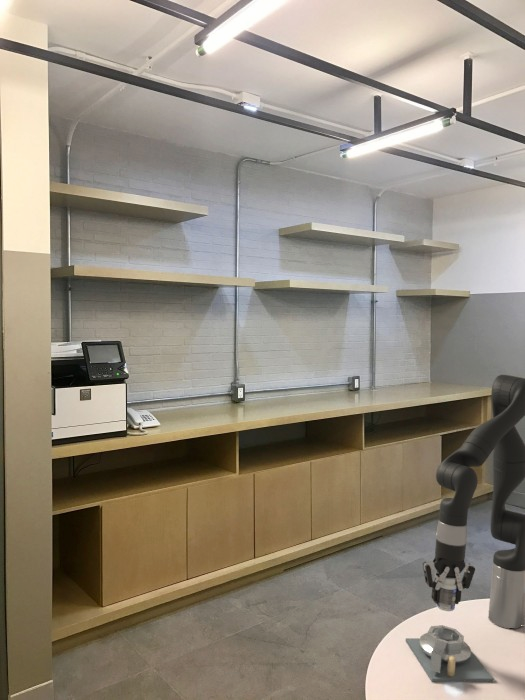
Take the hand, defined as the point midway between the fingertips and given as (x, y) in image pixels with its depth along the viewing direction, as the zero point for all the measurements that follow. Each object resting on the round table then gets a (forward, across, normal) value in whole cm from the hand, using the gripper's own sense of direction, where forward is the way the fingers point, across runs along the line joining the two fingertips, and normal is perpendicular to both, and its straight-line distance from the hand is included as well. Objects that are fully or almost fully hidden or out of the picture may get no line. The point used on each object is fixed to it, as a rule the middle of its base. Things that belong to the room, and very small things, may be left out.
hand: (445, 602), depth 153 cm
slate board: (+14, 0, -3) cm, 14 cm away
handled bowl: (+12, -1, -3) cm, 13 cm away
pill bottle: (+2, 0, 0) cm, 2 cm away
